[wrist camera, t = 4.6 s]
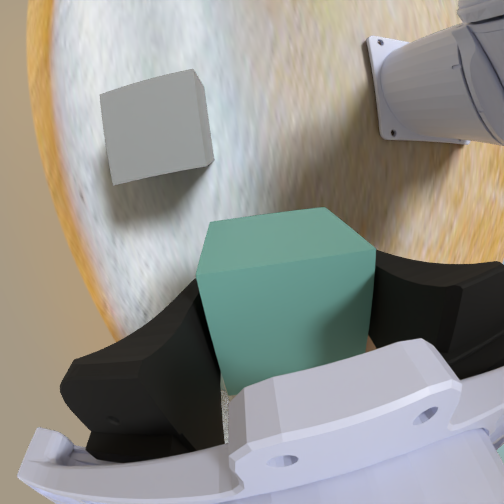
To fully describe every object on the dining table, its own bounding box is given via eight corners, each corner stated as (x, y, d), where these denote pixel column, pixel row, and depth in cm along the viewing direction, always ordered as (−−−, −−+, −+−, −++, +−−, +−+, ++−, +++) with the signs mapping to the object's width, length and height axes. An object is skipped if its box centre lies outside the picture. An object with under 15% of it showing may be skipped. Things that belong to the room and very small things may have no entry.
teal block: (324, 206, 12) (376, 249, 7) (326, 303, 14) (361, 372, 9) (210, 222, 12) (195, 274, 7) (228, 318, 14) (228, 395, 9)
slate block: (204, 87, 16) (193, 68, 11) (214, 159, 18) (206, 166, 13) (132, 104, 16) (99, 94, 11) (142, 173, 18) (113, 185, 13)
